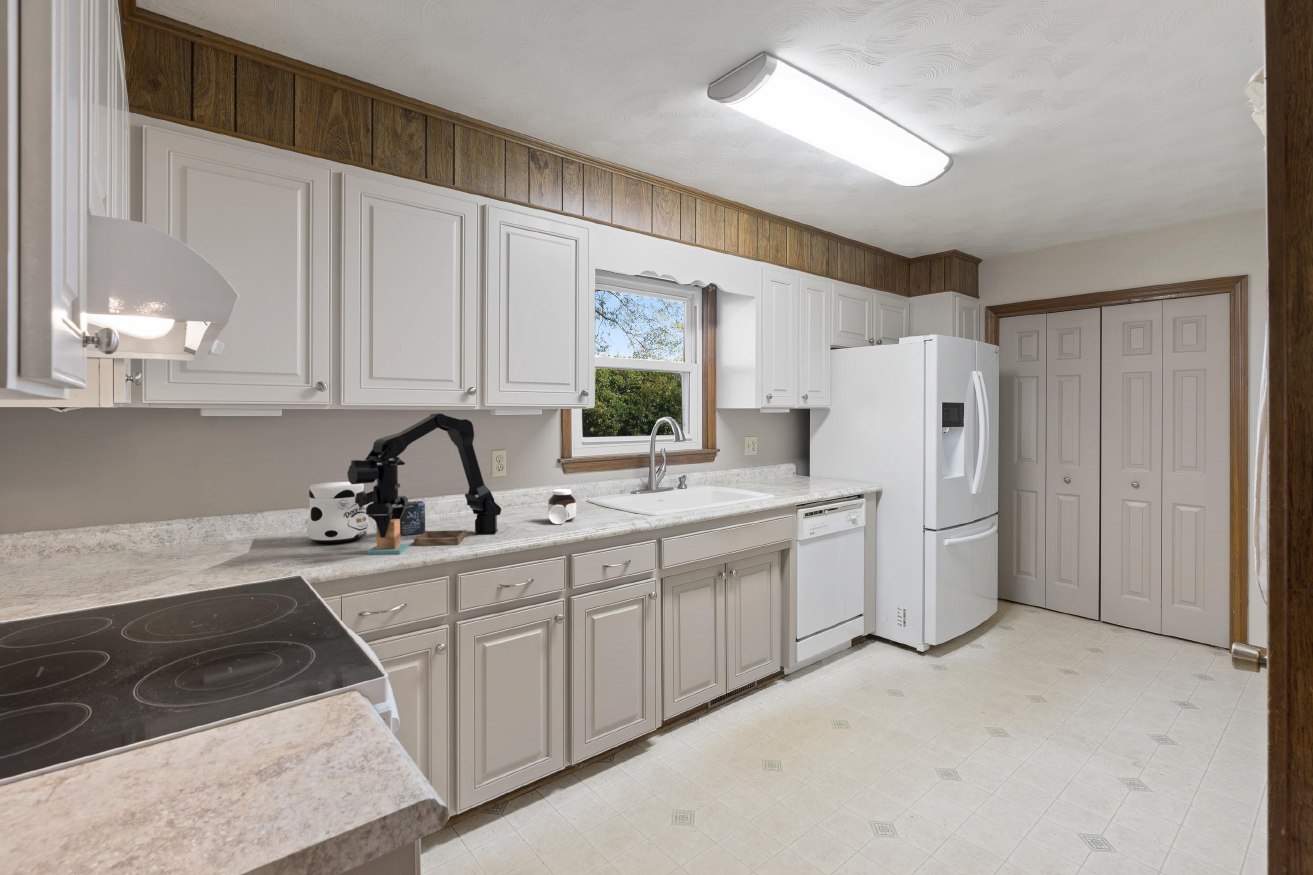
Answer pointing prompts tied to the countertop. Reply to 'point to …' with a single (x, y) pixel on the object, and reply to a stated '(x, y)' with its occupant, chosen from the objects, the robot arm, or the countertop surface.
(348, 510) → the milk container
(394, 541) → the block
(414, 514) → the box
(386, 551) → the plate
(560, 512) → the spread jar
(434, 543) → the pocket frame
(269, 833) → the countertop surface
